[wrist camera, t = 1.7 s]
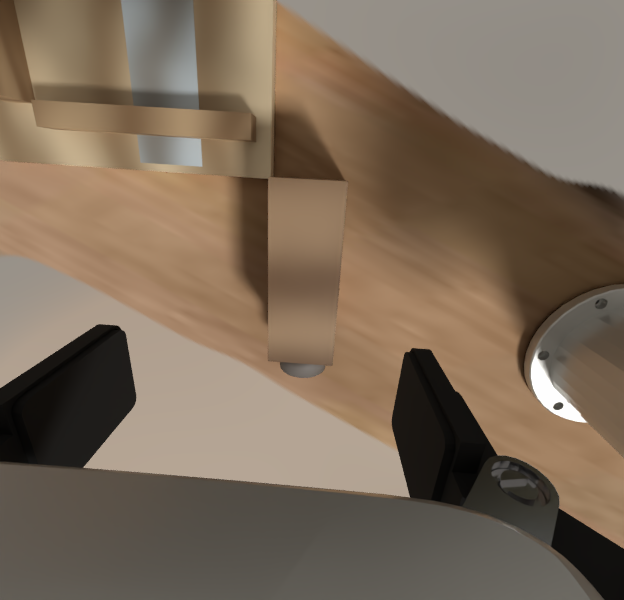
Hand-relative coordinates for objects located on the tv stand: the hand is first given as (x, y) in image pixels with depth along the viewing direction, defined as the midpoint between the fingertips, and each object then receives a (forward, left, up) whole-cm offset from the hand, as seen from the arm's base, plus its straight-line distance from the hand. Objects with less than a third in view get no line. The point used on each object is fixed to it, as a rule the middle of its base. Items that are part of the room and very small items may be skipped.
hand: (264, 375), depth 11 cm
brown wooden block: (0, 0, -16) cm, 16 cm away
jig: (+13, -13, -16) cm, 24 cm away
